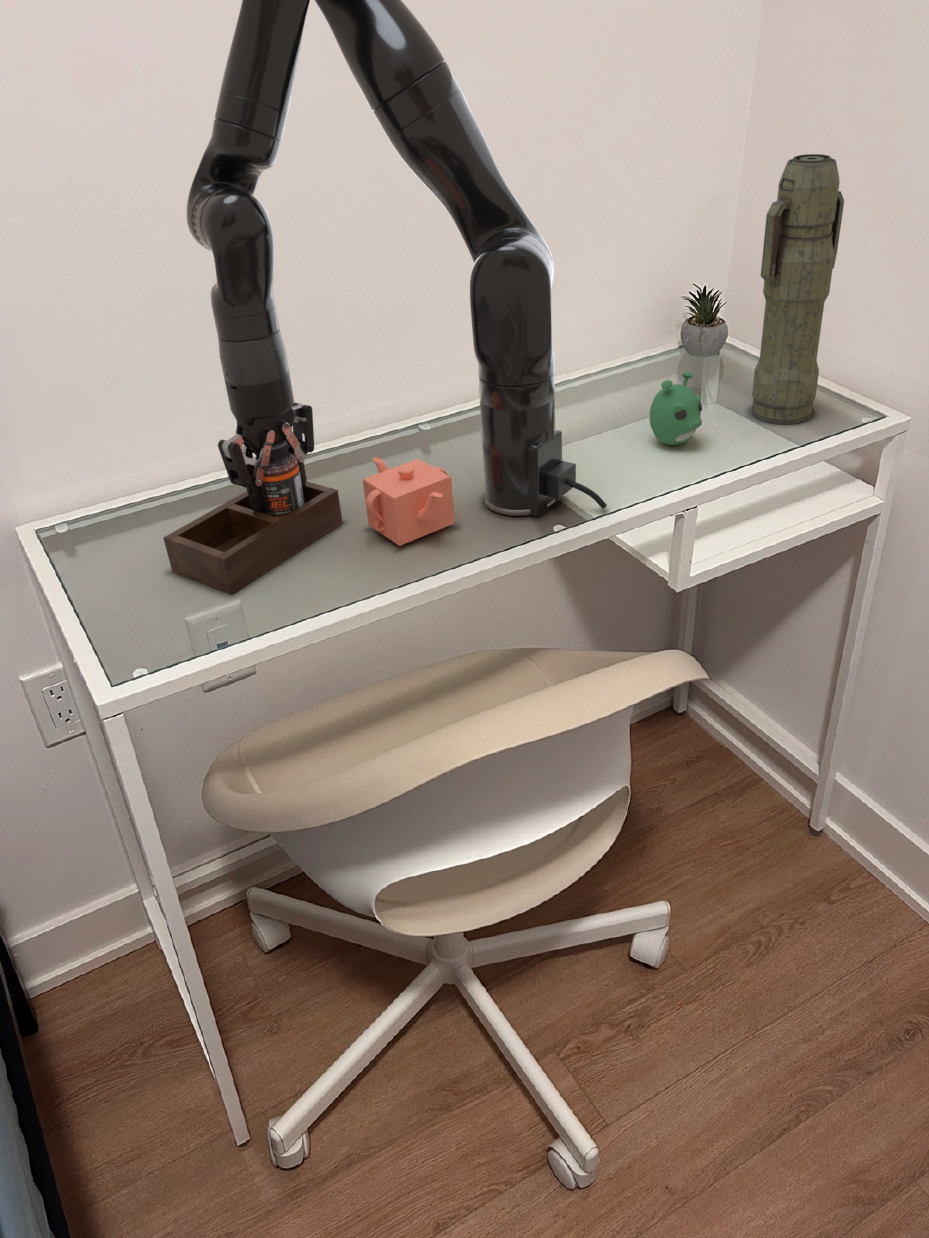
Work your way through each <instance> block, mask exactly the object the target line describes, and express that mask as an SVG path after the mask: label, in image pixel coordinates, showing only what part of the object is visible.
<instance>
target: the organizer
mask: <svg viewBox="0 0 929 1238" xmlns="http://www.w3.org/2000/svg"><path fill="white" fill-rule="evenodd" d="M303 496H304V502H305V504H303V505H302V506H300V507H298V508H297V509H295V510H293V511H292V512H290V513H288V514H287V515H285V516H283V517H282V518H277V517H274V516H271V515H267V514H264V513H261V512H258V511H256V510H255V509H254V508H252V507H251V505H250V501H249V497H248V492H247V490H245V491H244V492H242V493H240V494H239V495H237V496H235V497H232V498H231V499H229V500H228V501H226V502H223V503H222V504H220V505H219V506H216V507H214V509H212V510H210V511H208V512H206V513H205V514H203V515H201V516H199V517H197V518H195V519H194V520H192V521H190V522H188V523H187V524H185V525H183V526H181V527H180V528H178V529H176V530H174V531H173V532H171V533H168V534H167V535H164V536H163V537H162V538H163V542H164V546H165V550H166V553H167V557H168V561H169V565H170V569H171V572H172V573H173V574H177V575H180V576H182V577H185V578H187V579H189V580H193V581H194V582H195V581H196V582H198V583H200V584H203V585H205V586H208V587H210V588H213V589H215V590H219V591H221V592H223V593H226V594H229V595H234V594H235V593H238V591H240V590H241V589H244V588H245V587H246V586H248V585H249V584H252V583H253V582H254V581H256V580H257V579H258V578H260V577H262V576H263V575H265V574H266V573H268V572H269V571H271V570H273V569H274V568H276V567H277V566H279V565H281V564H282V563H283V562H285V561H286V560H288V559H289V558H291V557H293V556H294V555H296V554H297V553H299V552H301V551H302V550H304V549H305V548H307V547H308V546H310V545H311V544H313V543H314V542H316V541H318V540H319V539H321V538H322V537H324V536H326V535H327V534H329V533H330V532H332V531H334V530H335V529H336V528H338V527H339V526H341V525H342V524H343V523H344V522H343V516H342V515H343V514H342V509H341V503H340V502H341V501H340V496H339V489H336V488H333V487H328V486H326V485H322V484H318V483H315V482H311V481H307V480H306V489H304V490H303Z"/></svg>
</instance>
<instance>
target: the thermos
mask: <svg viewBox="0 0 929 1238" xmlns="http://www.w3.org/2000/svg"><path fill="white" fill-rule="evenodd" d="M840 181H841V180H840V175H839V168H838V163H837V160H836V159H835V158H832V156H831V155H827V154H819V153H815V154H814V153H809V154H799V155H796V156H793V158H790V159H788V160H787V162H786V164H785V167H784V169H783V171H782V174H781V176H780V179H779V181H778V188H777V199H776V201H773V202H771V204H770V207H769V208H768V210H767V213H766V217H765V225H764V226H765V228H764V238H763V248H762V257H761V267H760V277H761V278H762V279H763V287H762V288H763V289H762V290H763V291H762V294H763V296H764V299H765V302H764V312H763V324H762V333H761V343H760V353H759V359H758V361H757V363H756V366H755V368H754V373H753V382H752V392H751V396H752V407H751V414H752V416H753V417H754V418H756V419H757V420H759V421H762V422H764V423H769V424H774V425H775V424H776V425H795V424H801V423H804V422H807V421H808V420H810V419H811V418H812V415H813V406H814V402H815V401H816V396H817V390H818V389H817V388H818V382H819V375H820V369H819V368H820V367H819V365H818V352H819V345H820V339H821V331H822V324H823V315H824V310H825V309H824V308H825V302H826V300H827V298H828V297H829V294H830V290H831V285H832V276H833V270H834V269H835V264H836V259H837V255H838V249H839V241H840V235H841V228H842V219H843V213H844V207H845V199H844V196H843V194H842V191H840V190H839V189H840V184H841V183H840Z"/></svg>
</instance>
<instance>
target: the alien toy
mask: <svg viewBox="0 0 929 1238" xmlns="http://www.w3.org/2000/svg"><path fill="white" fill-rule="evenodd" d="M681 376H682V377H683V379H684V380H683V383H682V384H679V383H678V384H673V383H674V382H673V381H672V380H670V379H666V380H663V381H662V382H661V384H660V387H661V389H660V390H659V391H658V392H657V393H656V394H655V396H654V397H653V399H652V401H651V404H650V409H649V425H650V428H651V430H652V433H653V435H654V436H655V438H656V439H658V440H659V441H660V442H661V443H662V444H664V445H668V446H679V445H682V444H685V443H687V442H689V440H691V438H693V435H694V433H695V432H696V430H697V429H698V428H700V427H701V426H702V424H703V420H702V417H701V414H702V413H701V412H702V410H703V405H702V403H701V402H702V395H701V394H696V393H695V392H694V390H692V389H691V388H690V386H689V387H688V385H687V384H688V382H689V379H692V378H693V377H694V374H693V373H692V372H690V371H687V370H686V371H683V372H682V373H681Z"/></svg>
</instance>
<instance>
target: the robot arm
mask: <svg viewBox="0 0 929 1238" xmlns="http://www.w3.org/2000/svg"><path fill="white" fill-rule="evenodd" d="M310 1H311V0H241V4H240V8H239V13H238V17H237V21H236V25H235V29H234V32H233V37H232V41H231V45H230V49H229V52H228V55H227V60H226V64H225V68H224V71H223V75H222V76H223V77H222V81H221V84H220V89H219V94H218V98H217V99H218V100H217V103H216V109H215V114H214V119H213V124H212V129H211V130H212V131H211V136H210V139H209V141H208V144H207V145H206V148H205V150H204V152H203V154H202V157H201V159H200V162H199V164H198V167H197V170H196V172H195V175H194V177H193V180H192V183H191V186H190V189H189V193H188V197H187V203H186V224H187V227H188V230H189V232H190V234H191V236H192V238H193V239H194V240H195V241H196V243H197V244H199V246H201V247H203V248H204V249H205V250H208V251H210V252H212V256H213V261H214V267H215V269H214V270H215V275H216V276H215V277H216V282H215V283H214V284H213V285H212V287H211V290H210V304H211V310H212V315H213V320H214V324H215V330H216V335H217V341H218V354H219V355H218V356H219V361H220V366H221V370H222V375H223V379H224V384H225V390H226V393H227V394H226V395H227V397H228V405H229V408H230V412H231V413H232V415H233V417H234V418H235V420H236V430H235V434H234V435H233V436H231V437H230V438H229V439H227V440H226V439H219V441H218V442H217V448H218V451H219V453H220V456H221V459H222V463H223V465H224V468H225V471H226V473H227V477H228V479H229V482H230V483H231V484H232V485H236V486H240V487H242V488H245V489H246V491H247V492H248V497H249V501H250V505H251V507H252V508H254V509H255V510H256V511H259V512H262V513H266V512H267V511H269V510H270V508H269V503H268V497H267V492H266V487H265V484H263V480H264V473H265V469H266V468H267V467H268V466H269V460H270V454H271V447H272V446H274V445H276V444H278V443H280V442H282V441H284V440H286V441H287V447H288V452H289V453H292V454H293V455H294V456H295V457H296V458H297V461H298V466H299V472H300V478H301V484H302V490H304V489H306V481H307V474H306V468H305V461H306V458H307V457H306V456H307V455H308V454H309V453H313V452H314V451H315V433H314V431H315V430H314V415H313V407H312V406H311V405H308V404H303V403H299V402H295V398H294V390H293V386H292V380H291V373H290V368H289V362H288V355H287V351H286V346H285V342H284V340H283V336H282V332H281V328H280V323H279V322H280V321H279V317H278V310H277V305H276V299H275V296H274V290H273V289H274V278H275V240H274V239H275V238H274V232H273V228H272V227H273V226H272V223H271V220H270V217H269V214H268V212H267V210H266V208H265V206H264V205H263V203H262V201H260V200H259V199H258V198H257V197H256V196H255V195H254V194H255V192H256V188H257V186H258V183H259V180H260V177H261V175H262V173H263V172H264V171H266V170H269V169H271V168H272V167H273V166H274V165H275V163H276V161H277V159H278V155H279V153H280V149H281V145H282V141H283V138H284V137H283V136H284V134H285V129H286V128H285V127H286V123H287V120H288V114H289V111H290V107H291V102H292V96H293V91H294V88H295V87H294V86H295V81H296V75H297V68H298V62H299V56H300V50H301V44H302V40H303V34H304V28H305V24H306V20H307V19H306V18H307V14H308V10H309V5H310ZM314 2H315V4H316V5H317V7H318V8H319V10H320V12H321V13H322V15H323V16H324V18H325V21H326V22H327V25H328V26H329V29H330V30H331V32H332V34H333V37H334V39H335V41H336V43H337V45H338V47H339V49H340V51H341V54H342V56H343V58H344V60H345V62H346V63H347V67H348V68H349V69H350V71H351V74H352V76H353V77H354V79H355V82H356V84H357V85H358V88H359V89H360V91H361V93H362V96H363V97H364V99H365V101H366V102H367V105H368V107H369V108H370V110H371V111H372V113H373V115H374V117H375V118H376V121H377V122H378V124H379V125H380V127H381V129H382V130H383V132H384V134H385V135H386V137H387V139H388V140H389V143H390V144H391V145H392V147H393V149H394V150H395V152H396V153H397V155H398V156H399V158H400V159H401V160H402V161H403V162H404V163H405V165H406V166H407V168H409V170H411V172H412V173H413V174H414V175H415V177H416V178H417V179H419V180H420V182H421V183H422V184H423V185H424V186H425V187H426V188H427V189H428V190H429V191H430V193H432V194H433V195H434V196H435V198H436V199H437V200H438V201H439V202H440V204H441V205H442V206H443V207H444V208H445V210H446V211H447V213H448V214H449V215H450V218H451V219H452V220H453V222H454V224H455V226H456V228H457V230H458V232H459V233H460V235H461V238H462V239H463V242H464V244H465V246H466V248H467V250H468V253H469V254H470V257H471V259H472V262H473V266H472V269H471V271H470V276H469V305H470V307H469V308H470V319H471V331H472V341H473V344H472V345H473V352H474V357H475V359H476V363H477V376H478V391H479V393H478V394H479V409H480V410H479V411H480V427H481V447H482V459H483V460H482V462H483V464H482V465H483V479H484V481H483V482H484V503H485V505H486V507H487V508H488V509H489V510H491V511H493V512H495V513H497V514H500V515H505V516H510V517H511V516H513V517H514V516H515V517H524V516H525V517H526V516H532V517H537V518H539V517H541V516H542V515H543V514H544V513H546V512H547V511H548V510H549V509H550V508H552V507H554V505H555V504H557V503H558V502H559V501H561V500H562V499H563V496H565V495H566V494H567V493H568V492H570V491H571V490H572V489H575V490H578V491H580V492H581V493H584V494H585V495H587V496H589V497H590V498H591V499H593V500H594V502H596V503H597V504H598V506H599V507H600V508H601V509H602V510H605V509H606V508H607V506H608V504H607V503H606V501H604V500H603V498H602V497H601V496H600V495H599V494H597V493H596V492H595V491H594V490H592V489H591V488H589V487H587V486H585V485H584V484H581V483H579V482H577V481H576V480H577V464H576V463H574V462H570V461H565V460H563V432H562V430H561V429H558V428H556V408H555V407H556V401H555V400H556V399H555V398H556V397H555V395H556V392H555V389H556V388H555V351H554V347H553V321H552V319H553V318H552V316H553V315H552V311H553V310H552V287H553V282H554V279H555V278H554V277H555V262H554V258H553V255H552V252H551V250H550V248H549V246H548V244H547V243H546V241H545V239H544V238H543V236H542V235H541V234H540V232H539V231H538V229H537V227H536V226H535V224H533V222H532V221H531V219H530V218H529V217H528V215H527V213H526V212H525V211H524V209H523V207H522V206H521V204H520V203H519V201H518V200H517V198H516V197H515V195H514V194H513V193H512V191H511V189H510V188H509V186H508V185H507V183H506V180H505V179H504V177H503V175H502V174H501V172H500V170H499V168H498V165H497V163H496V161H495V159H494V157H493V154H492V152H491V149H490V147H489V145H488V143H487V140H486V138H485V136H484V134H483V133H482V130H481V128H480V126H479V124H478V121H477V120H476V118H475V116H474V114H473V111H472V110H471V108H470V106H469V103H468V102H467V99H466V97H465V95H464V93H463V91H462V89H461V87H460V85H459V84H458V82H457V80H456V78H455V76H454V74H453V72H452V70H451V68H450V67H449V65H448V63H447V61H445V57H444V55H443V54H442V52H441V51H440V49H439V47H438V46H437V45H436V43H435V41H434V39H433V38H432V37H431V36H430V34H429V33H428V31H427V30H426V29H425V27H424V26H423V25H422V24H421V22H420V21H419V20H418V19H417V17H416V16H415V15H414V13H413V12H412V11H411V10H410V9H409V7H408V6H407V5H406V4H405V3H404V1H402V0H314ZM303 437H304V438H303ZM255 454H256V455H260V457H259V459H256V458H255V456H256V455H255ZM254 455H255V456H254ZM254 466H255V473H254V475H252V473H253V467H254Z"/></svg>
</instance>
